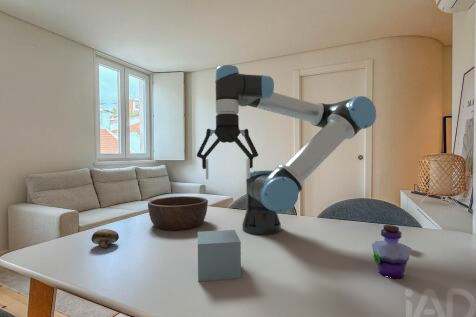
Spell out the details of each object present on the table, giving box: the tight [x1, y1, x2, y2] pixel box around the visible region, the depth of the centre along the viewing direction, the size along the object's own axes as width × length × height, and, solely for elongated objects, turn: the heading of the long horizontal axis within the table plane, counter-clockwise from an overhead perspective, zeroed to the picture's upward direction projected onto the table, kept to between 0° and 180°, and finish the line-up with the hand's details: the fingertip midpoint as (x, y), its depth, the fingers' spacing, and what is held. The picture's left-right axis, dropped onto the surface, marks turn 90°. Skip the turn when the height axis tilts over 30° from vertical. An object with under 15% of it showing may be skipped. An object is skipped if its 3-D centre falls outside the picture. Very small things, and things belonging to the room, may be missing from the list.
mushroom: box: [90, 228, 120, 249], centre depth 88 cm, size 8×8×6 cm
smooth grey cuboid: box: [197, 229, 242, 282], centre depth 69 cm, size 10×10×9 cm
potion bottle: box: [371, 224, 412, 280], centre depth 66 cm, size 9×9×12 cm
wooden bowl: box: [147, 195, 209, 231], centre depth 115 cm, size 25×25×10 cm
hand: (227, 178), depth 89 cm, fingers open, 13 cm apart
